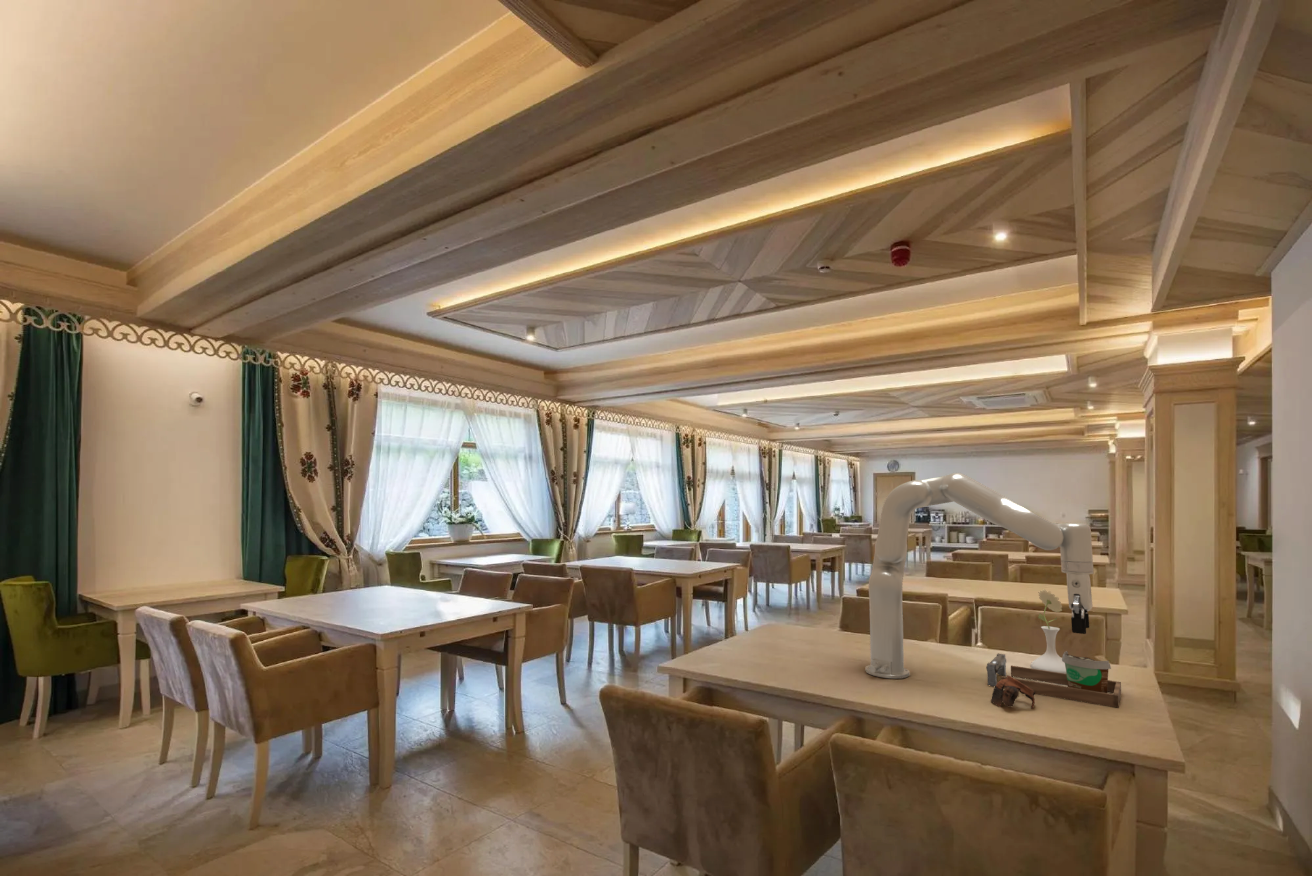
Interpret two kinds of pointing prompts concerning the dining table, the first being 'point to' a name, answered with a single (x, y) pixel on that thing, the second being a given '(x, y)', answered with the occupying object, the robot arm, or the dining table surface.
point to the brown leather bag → (1010, 692)
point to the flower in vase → (1049, 637)
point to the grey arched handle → (996, 669)
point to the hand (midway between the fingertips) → (1080, 630)
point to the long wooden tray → (1065, 691)
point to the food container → (1086, 673)
